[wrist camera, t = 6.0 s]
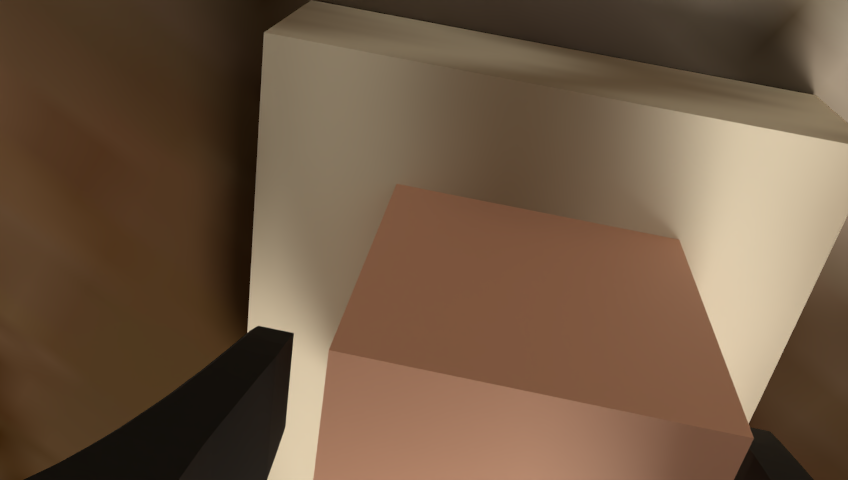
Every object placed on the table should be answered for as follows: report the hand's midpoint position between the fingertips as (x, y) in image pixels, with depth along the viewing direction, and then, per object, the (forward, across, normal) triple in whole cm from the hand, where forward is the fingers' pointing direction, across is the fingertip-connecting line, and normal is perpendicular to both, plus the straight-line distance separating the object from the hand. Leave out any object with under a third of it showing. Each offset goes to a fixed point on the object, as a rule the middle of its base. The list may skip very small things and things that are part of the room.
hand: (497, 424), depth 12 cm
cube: (+2, 0, 0) cm, 2 cm away
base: (+5, 0, 0) cm, 5 cm away
